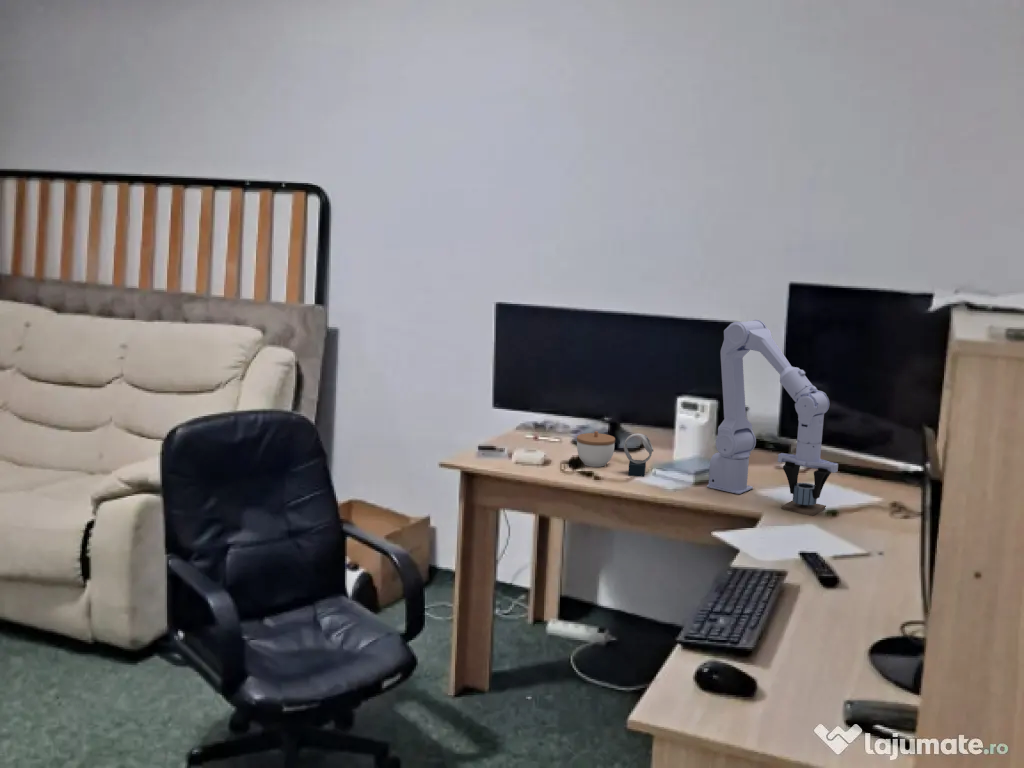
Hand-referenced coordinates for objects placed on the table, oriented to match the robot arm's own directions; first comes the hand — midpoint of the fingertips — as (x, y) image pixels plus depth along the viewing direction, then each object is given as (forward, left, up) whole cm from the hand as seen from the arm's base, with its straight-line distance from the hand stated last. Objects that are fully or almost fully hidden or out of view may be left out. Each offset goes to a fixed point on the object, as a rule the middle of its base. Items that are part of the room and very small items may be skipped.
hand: (804, 495), depth 251 cm
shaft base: (0, 0, -3) cm, 3 cm away
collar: (0, 0, -2) cm, 2 cm away
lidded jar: (-61, -2, -4) cm, 61 cm away
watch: (-47, -2, -4) cm, 47 cm away
